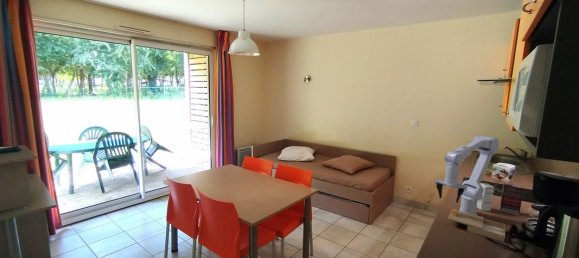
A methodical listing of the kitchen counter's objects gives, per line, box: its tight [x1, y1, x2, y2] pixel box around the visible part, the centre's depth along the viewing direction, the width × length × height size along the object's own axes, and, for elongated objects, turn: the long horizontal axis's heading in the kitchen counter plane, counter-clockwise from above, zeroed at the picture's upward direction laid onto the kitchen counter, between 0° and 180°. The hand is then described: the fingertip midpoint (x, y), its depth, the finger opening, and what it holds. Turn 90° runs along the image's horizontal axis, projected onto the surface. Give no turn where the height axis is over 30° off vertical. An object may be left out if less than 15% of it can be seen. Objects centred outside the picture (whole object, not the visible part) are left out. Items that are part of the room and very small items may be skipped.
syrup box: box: [476, 182, 495, 212], centre depth 153 cm, size 6×6×14 cm
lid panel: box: [447, 207, 485, 229], centre depth 134 cm, size 14×14×4 cm
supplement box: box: [499, 182, 524, 216], centre depth 150 cm, size 9×5×16 cm, turn 54°
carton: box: [466, 218, 506, 243], centre depth 129 cm, size 14×14×3 cm
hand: (448, 199), depth 139 cm, fingers open, 7 cm apart
